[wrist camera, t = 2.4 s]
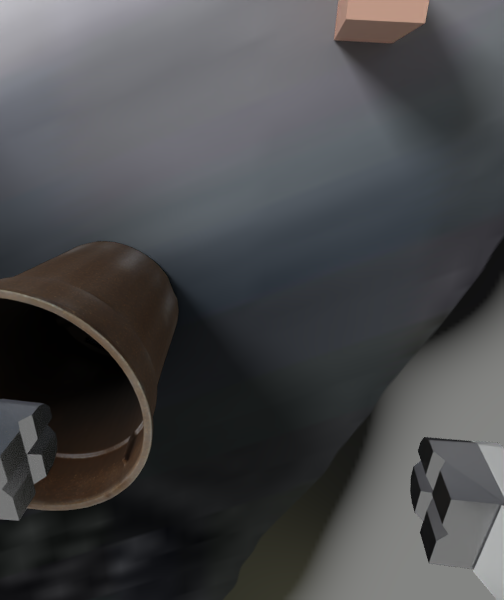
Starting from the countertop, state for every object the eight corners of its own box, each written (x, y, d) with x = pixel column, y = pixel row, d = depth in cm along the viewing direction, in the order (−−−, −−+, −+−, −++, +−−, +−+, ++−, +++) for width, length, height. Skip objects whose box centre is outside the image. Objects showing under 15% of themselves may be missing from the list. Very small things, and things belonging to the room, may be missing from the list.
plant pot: (224, 251, 38) (178, 345, 24) (181, 397, 45) (124, 540, 30) (40, 191, 38) (-124, 250, 23) (25, 348, 45) (-110, 469, 30)
